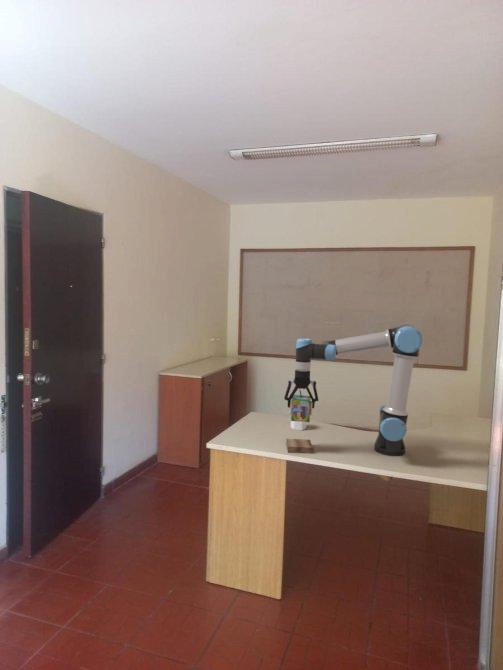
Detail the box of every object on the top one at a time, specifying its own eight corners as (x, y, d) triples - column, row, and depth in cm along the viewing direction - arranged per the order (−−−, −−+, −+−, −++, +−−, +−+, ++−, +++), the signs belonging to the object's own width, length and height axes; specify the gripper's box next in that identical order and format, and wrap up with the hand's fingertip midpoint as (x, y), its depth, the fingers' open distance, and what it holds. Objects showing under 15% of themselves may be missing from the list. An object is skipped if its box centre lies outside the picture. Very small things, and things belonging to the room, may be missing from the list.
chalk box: (309, 422, 224) (311, 393, 223) (290, 421, 225) (292, 391, 224) (309, 417, 233) (311, 389, 232) (291, 416, 234) (293, 387, 233)
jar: (296, 425, 272) (297, 405, 270) (308, 428, 266) (309, 407, 265) (288, 428, 265) (288, 407, 263) (300, 431, 260) (301, 410, 258)
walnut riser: (309, 445, 237) (309, 439, 236) (312, 453, 225) (312, 447, 224) (286, 444, 237) (286, 438, 236) (288, 452, 225) (288, 446, 224)
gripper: (323, 369, 230) (321, 413, 233) (279, 367, 231) (277, 411, 233) (326, 372, 223) (323, 417, 225) (280, 370, 223) (278, 415, 225)
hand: (300, 414), depth 229 cm, fingers closed on chalk box, 9 cm apart
